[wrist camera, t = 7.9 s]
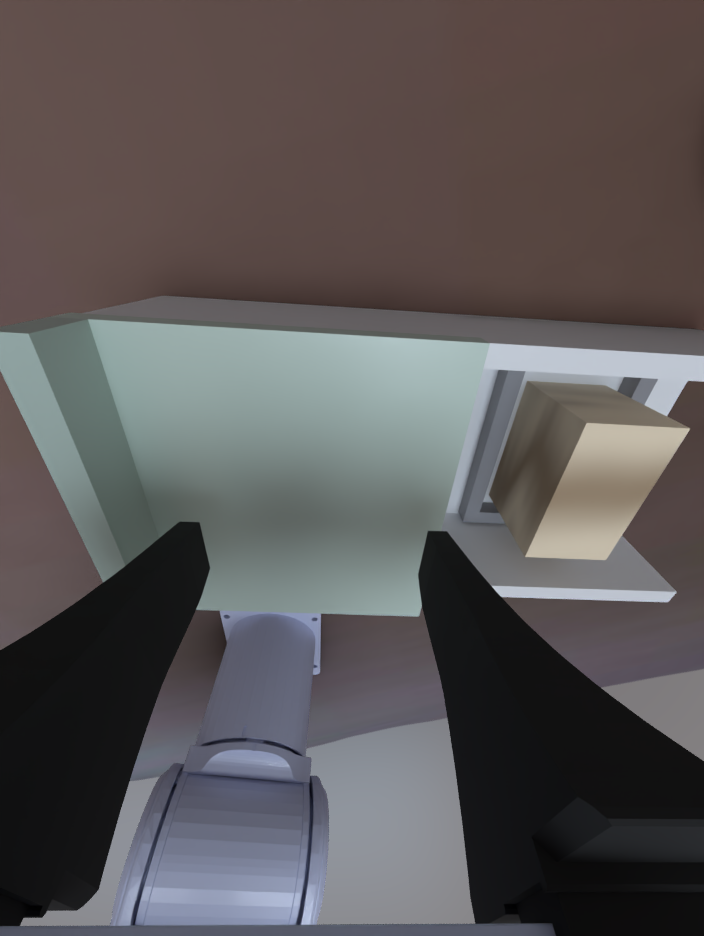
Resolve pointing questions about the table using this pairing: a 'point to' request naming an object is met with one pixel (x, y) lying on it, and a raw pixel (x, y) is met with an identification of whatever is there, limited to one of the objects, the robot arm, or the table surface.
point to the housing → (506, 417)
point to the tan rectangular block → (579, 468)
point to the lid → (252, 448)
